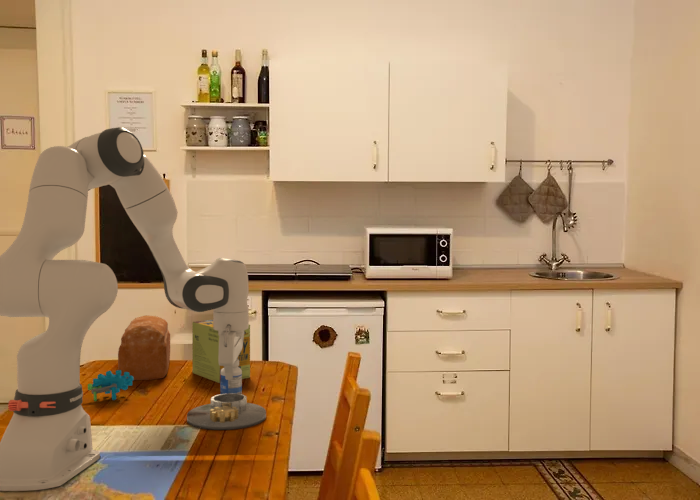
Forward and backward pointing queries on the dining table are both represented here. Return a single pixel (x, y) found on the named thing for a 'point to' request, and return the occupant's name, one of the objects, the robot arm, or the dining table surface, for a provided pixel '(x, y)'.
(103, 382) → the gear
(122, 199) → the robot arm
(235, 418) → the carrier plate
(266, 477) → the dining table surface
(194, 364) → the protein box
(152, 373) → the bread
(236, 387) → the pill bottle
